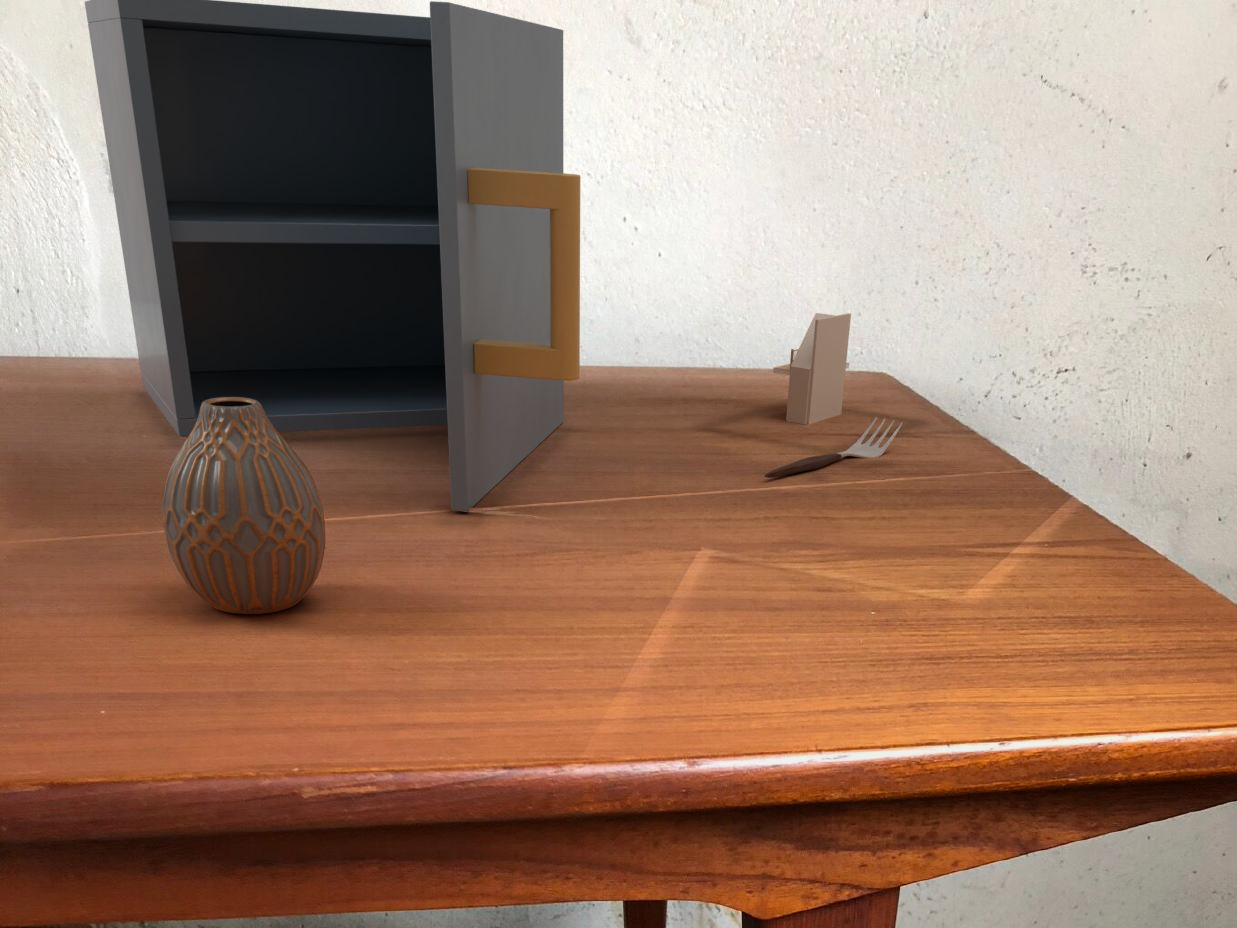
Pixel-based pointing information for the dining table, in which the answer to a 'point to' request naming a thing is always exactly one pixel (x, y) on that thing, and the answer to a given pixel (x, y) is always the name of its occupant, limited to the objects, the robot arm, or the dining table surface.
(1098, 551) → the dining table surface
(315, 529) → the vase
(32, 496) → the dining table surface
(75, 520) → the dining table surface
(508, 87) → the cupboard door
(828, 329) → the architectural model
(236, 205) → the cupboard
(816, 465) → the fork
